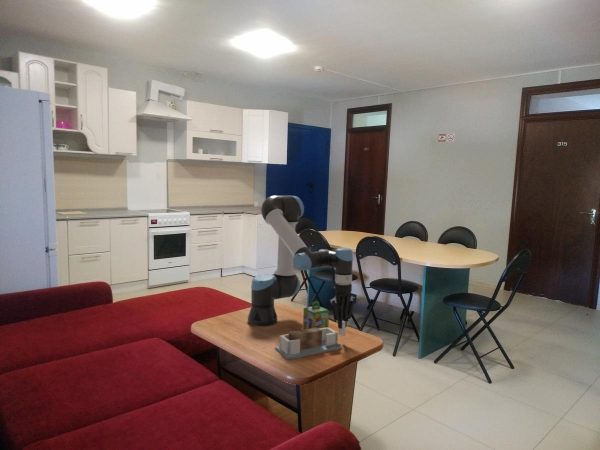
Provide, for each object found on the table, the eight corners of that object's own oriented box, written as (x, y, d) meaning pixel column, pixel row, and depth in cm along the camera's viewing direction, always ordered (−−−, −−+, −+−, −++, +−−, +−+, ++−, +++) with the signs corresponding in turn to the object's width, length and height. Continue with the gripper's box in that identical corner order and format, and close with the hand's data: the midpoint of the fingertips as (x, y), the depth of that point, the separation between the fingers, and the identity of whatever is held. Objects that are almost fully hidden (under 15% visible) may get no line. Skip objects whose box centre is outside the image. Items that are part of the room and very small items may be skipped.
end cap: (316, 340, 179) (317, 328, 178) (327, 338, 181) (327, 327, 181) (326, 347, 172) (326, 334, 171) (337, 344, 174) (337, 332, 174)
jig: (275, 348, 171) (275, 334, 171) (326, 339, 184) (327, 325, 183) (287, 359, 161) (288, 344, 160) (341, 348, 173) (342, 334, 173)
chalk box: (313, 337, 186) (314, 306, 185) (302, 331, 193) (302, 301, 192) (329, 333, 191) (330, 303, 190) (317, 327, 199) (318, 298, 197)
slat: (292, 351, 166) (293, 335, 166) (288, 348, 170) (288, 332, 169) (321, 346, 173) (322, 330, 172) (316, 342, 176) (317, 327, 176)
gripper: (335, 286, 171) (334, 340, 173) (360, 283, 178) (358, 335, 180) (326, 282, 178) (325, 334, 180) (350, 280, 184) (349, 330, 186)
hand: (342, 334), depth 180 cm, fingers closed
